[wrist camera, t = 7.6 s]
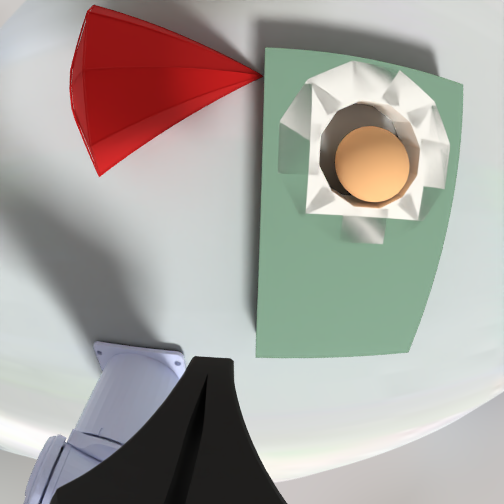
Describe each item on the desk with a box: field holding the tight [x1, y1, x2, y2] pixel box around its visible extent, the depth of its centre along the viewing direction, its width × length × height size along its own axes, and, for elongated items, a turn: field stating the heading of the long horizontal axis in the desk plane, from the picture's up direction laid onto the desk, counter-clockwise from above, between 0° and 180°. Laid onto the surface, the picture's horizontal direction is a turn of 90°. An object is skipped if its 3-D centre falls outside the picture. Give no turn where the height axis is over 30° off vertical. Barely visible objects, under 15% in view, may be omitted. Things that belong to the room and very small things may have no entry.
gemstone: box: [69, 5, 263, 177], centre depth 13 cm, size 9×9×10 cm
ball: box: [335, 126, 409, 202], centre depth 15 cm, size 4×4×4 cm
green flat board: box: [256, 48, 463, 358], centre depth 17 cm, size 18×11×2 cm, turn 179°
